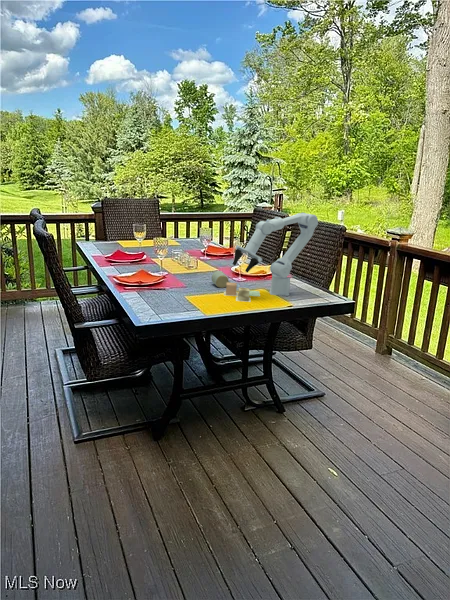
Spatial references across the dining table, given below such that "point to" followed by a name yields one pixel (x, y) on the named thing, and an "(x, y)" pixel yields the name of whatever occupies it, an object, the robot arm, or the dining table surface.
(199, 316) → the dining table surface
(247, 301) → the code tile
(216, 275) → the ceramic mug
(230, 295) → the code tile
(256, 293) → the coaster
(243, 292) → the birch block
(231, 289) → the terracotta block
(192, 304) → the dining table surface
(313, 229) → the robot arm
